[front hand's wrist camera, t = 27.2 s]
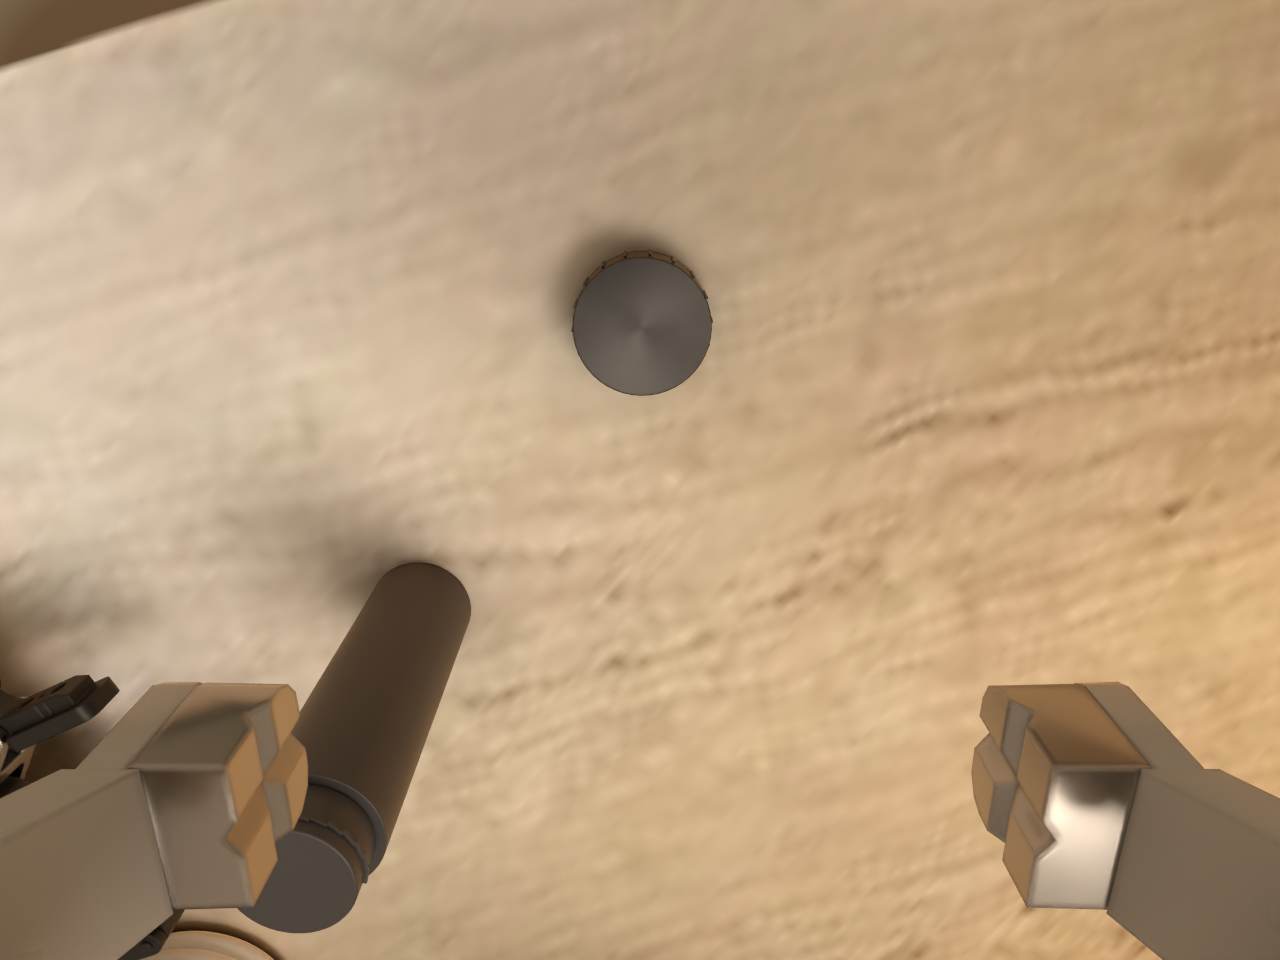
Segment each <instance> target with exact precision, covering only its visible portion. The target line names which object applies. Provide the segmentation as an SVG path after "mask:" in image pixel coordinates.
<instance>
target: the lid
mask: <svg viewBox="0 0 1280 960" xmlns="http://www.w3.org/2000/svg"><path fill="white" fill-rule="evenodd" d="M706 299H708V297H707V295H706V293H705V290H703V291H702V289H701V287H700V285H699V283H698V282H697V280H696V279H695V276H694V274H693V272H692V270H691V271H689V270H688V269H687V268H685V267H684V266H683V265H682V264H680V263H679V262H678V261H676V260H675V259H674V257H673V256H671V258H670V257H668V256H665V255H663V254H660V253H655V252H651V250H649V249H648V251H635V252H629V253H627V251H624V254H622V255H619V256H616V257H614V258H612V259H610V260H608V261H607V262H605V261H603V262H602V265H601V266H600V267H599V268H598V269H597V270H595V272H594V273H593V274H592V275H591V276H590V277H589V278H588V277H587V278H586V280H585V282H584V287H583V289H582V291H581V294H580V296H579V298H578V299H576V302H575V304H574V308H575V311H574V316H573V327H572V332H573V337H574V342H575V346H576V349H577V352H578V355H579V356H580V358H581V360H582V362H583V363H584V365H585V366H586V368H587V369H588V370H589V371H590V373H591V374H592V375H593V376H594V377H595V378H597V379H598V380H599V381H600V382H602V383H603V384H605V385H606V386H608V387H610V388H612V389H614V390H616V391H619V392H622V393H626V394H630V395H640V396H643V395H654V394H659V393H662V392H665V391H668V390H670V389H673V388H675V387H676V386H678V385H680V384H681V383H683V382H684V381H685V380H686V379H688V378H689V377H690V376H691V375H692V374H693V373H694V372H695V371H696V369H697V368H698V367H699V365H700V364H701V362H702V360H703V359H704V357H705V355H706V352H707V350H708V347H709V345H710V339H711V331H712V323H713V320H712V317H711V314H710V309H709V306H708V303H707V300H706Z"/></svg>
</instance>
